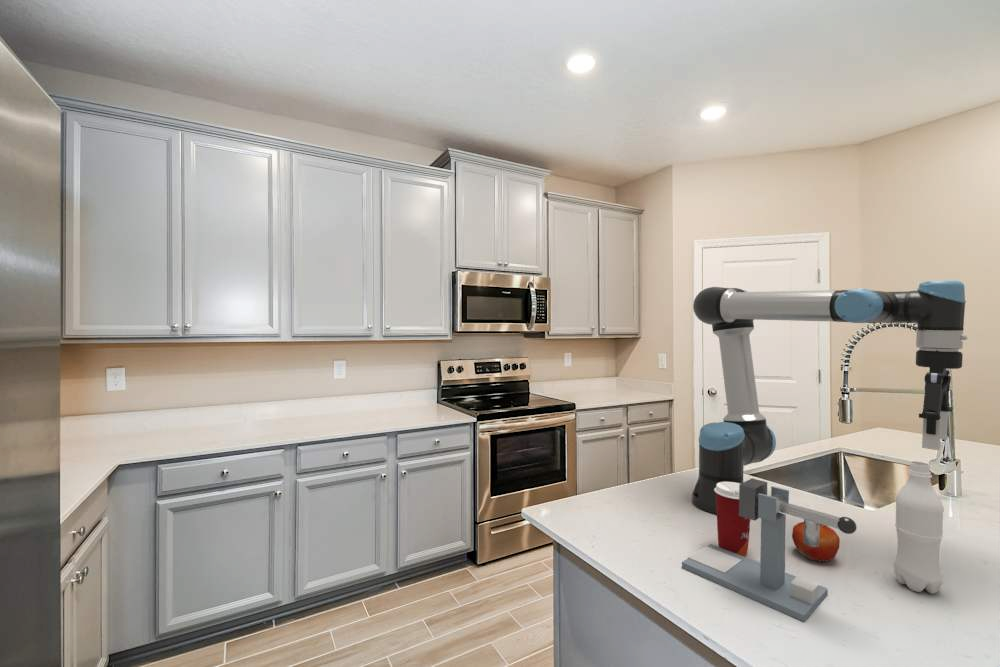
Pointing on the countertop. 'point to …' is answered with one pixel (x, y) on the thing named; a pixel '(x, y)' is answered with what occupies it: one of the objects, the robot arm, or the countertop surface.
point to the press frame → (761, 567)
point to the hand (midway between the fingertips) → (934, 443)
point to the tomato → (826, 543)
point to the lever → (790, 512)
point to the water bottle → (919, 531)
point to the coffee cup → (731, 519)
